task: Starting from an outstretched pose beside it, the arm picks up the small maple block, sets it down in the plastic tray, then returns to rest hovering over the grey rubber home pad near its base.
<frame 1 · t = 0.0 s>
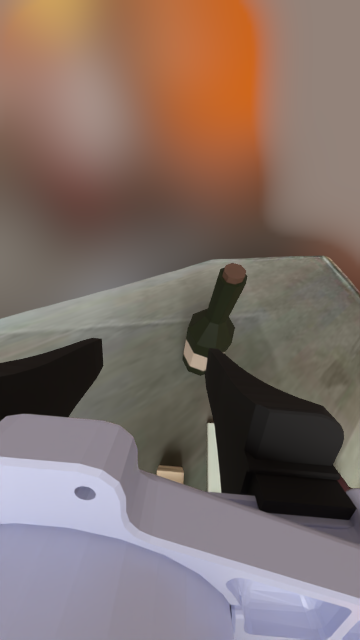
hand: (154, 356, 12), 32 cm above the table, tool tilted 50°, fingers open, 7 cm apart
wine bottle: (198, 359, 46), on the table
block: (169, 481, 33), on the table
tray: (237, 460, 35), on the table
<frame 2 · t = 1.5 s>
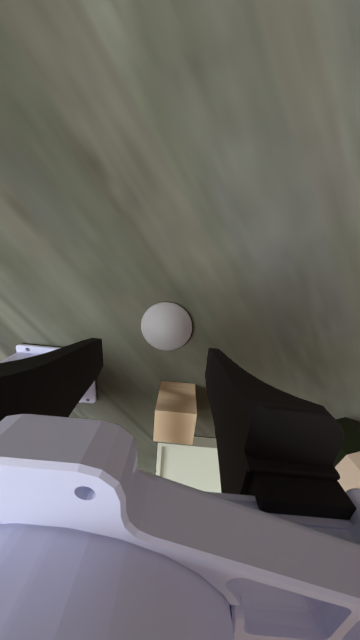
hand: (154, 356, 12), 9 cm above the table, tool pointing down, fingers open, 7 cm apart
wine bottle: (337, 438, 26), on the table
home pad: (166, 326, 21), on the table
block: (176, 395, 24), on the table
tray: (194, 464, 28), on the table
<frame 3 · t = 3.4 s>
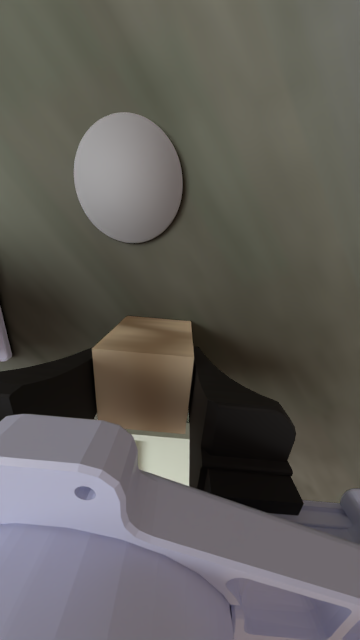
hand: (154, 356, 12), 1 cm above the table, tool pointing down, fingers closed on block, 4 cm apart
home pad: (129, 185, 10), on the table
block: (157, 347, 13), on the table, touching gripper
tray: (193, 471, 17), on the table
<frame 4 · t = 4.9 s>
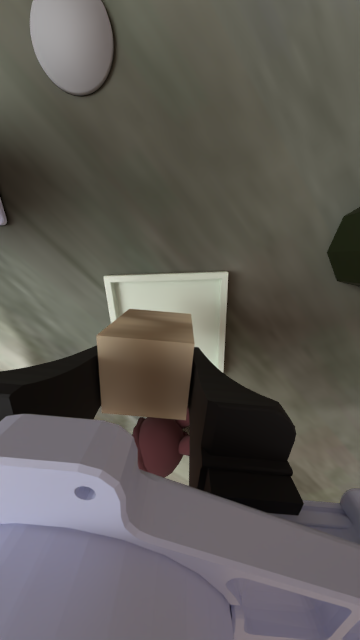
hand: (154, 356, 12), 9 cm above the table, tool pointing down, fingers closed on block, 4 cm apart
icecream: (157, 421, 25), on the table
home pad: (73, 41, 13), on the table
block: (158, 339, 14), point 7 cm above the table, touching gripper
tray: (169, 327, 20), on the table
when the fingers open (4 cm above the table, at t = 6.4 s): block drops 1 cm, resting on tray.
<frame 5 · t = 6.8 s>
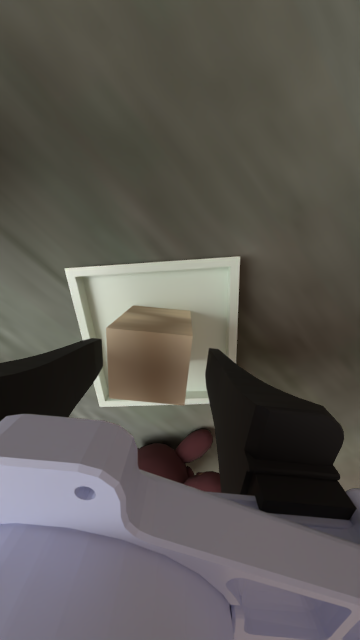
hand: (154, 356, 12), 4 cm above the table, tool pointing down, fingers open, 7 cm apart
icecream: (154, 450, 20), on the table
block: (160, 334, 15), point 1 cm above the table, touching tray
tray: (161, 335, 15), on the table
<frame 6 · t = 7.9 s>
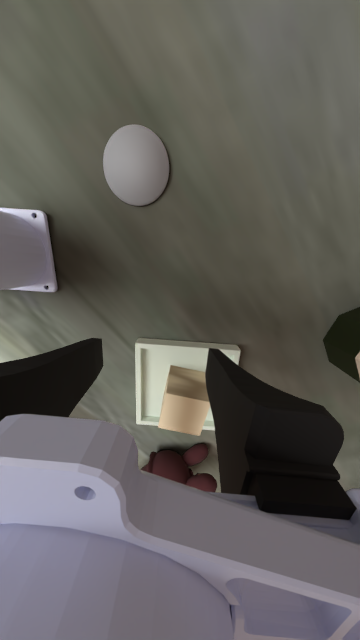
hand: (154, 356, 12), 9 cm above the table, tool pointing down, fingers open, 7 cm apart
icecream: (164, 454, 28), on the table
wine bottle: (358, 337, 21), on the table
home pad: (136, 168, 16), on the table
block: (184, 383, 23), point 1 cm above the table, touching tray
tray: (184, 382, 23), on the table
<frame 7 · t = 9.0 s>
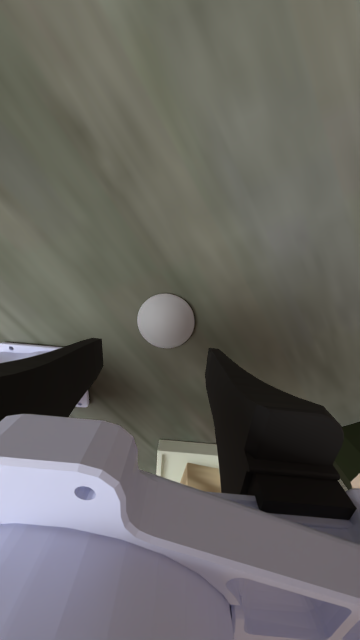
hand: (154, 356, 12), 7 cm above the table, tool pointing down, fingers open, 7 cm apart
wine bottle: (354, 443, 24), on the table
home pad: (166, 321, 19), on the table
block: (198, 476, 25), point 1 cm above the table, touching tray
tray: (198, 473, 26), on the table
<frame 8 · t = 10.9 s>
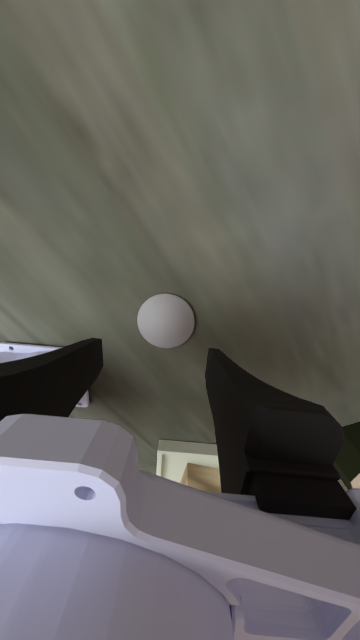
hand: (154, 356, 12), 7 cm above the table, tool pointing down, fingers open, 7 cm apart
wine bottle: (354, 443, 24), on the table
home pad: (166, 321, 19), on the table
block: (198, 476, 25), point 1 cm above the table, touching tray
tray: (198, 473, 26), on the table
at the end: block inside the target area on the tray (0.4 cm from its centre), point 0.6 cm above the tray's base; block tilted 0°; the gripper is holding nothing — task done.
